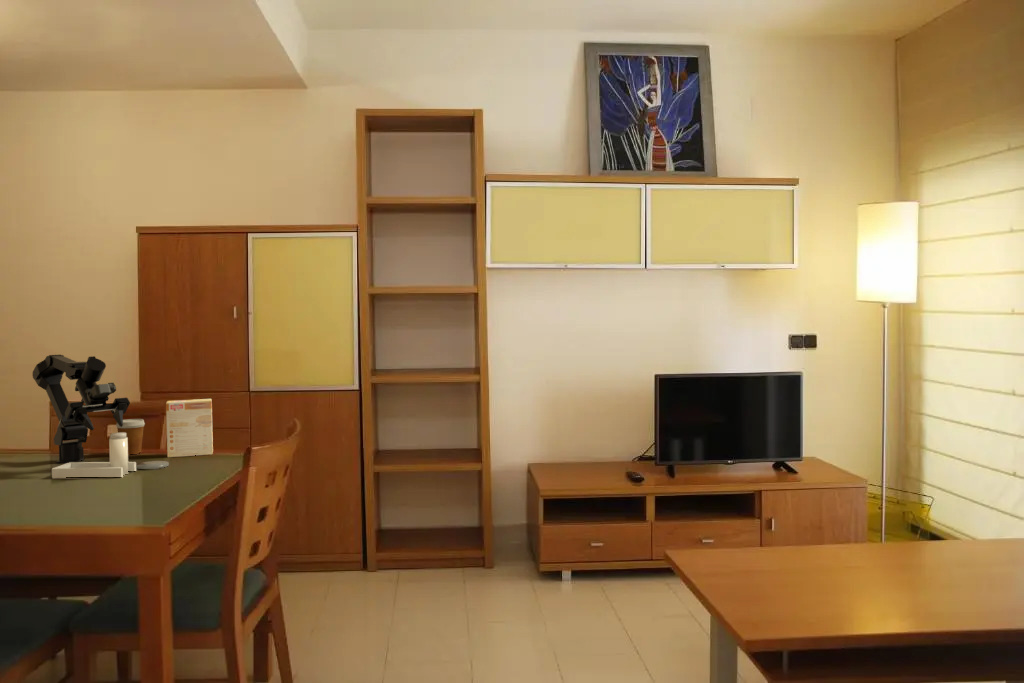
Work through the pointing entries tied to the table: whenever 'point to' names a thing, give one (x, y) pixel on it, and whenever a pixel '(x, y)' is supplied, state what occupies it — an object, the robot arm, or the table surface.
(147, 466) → the coaster
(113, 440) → the salt mill
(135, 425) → the disposable coffee cup
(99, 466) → the channel
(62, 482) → the table surface
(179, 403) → the coffeecake box
